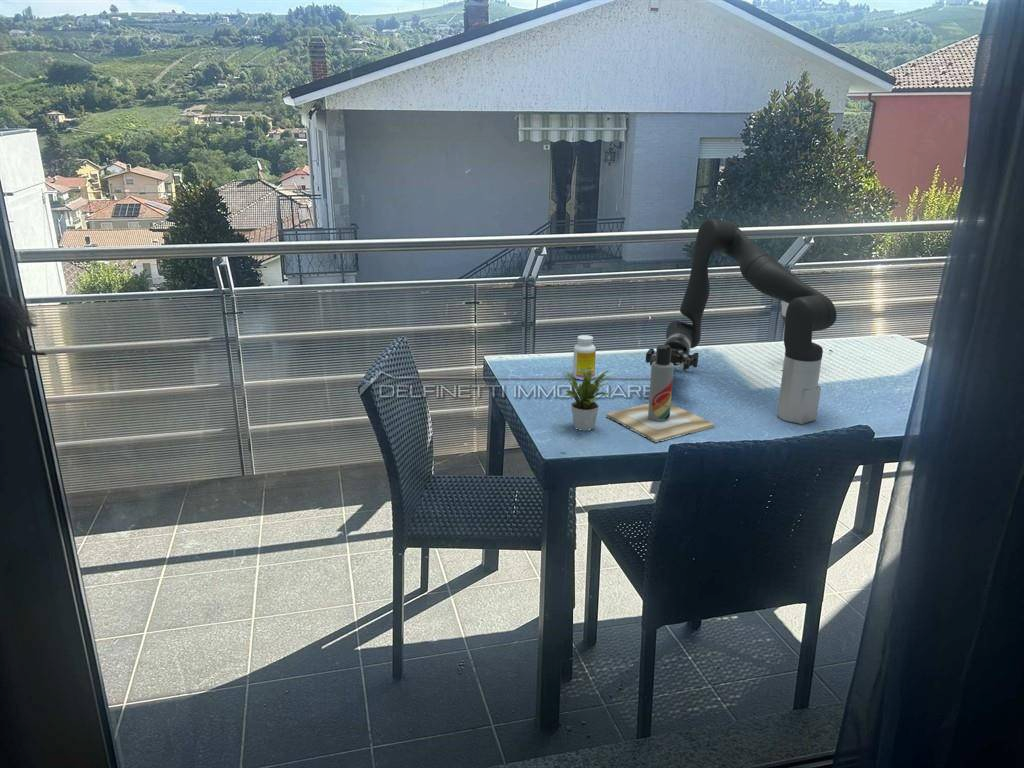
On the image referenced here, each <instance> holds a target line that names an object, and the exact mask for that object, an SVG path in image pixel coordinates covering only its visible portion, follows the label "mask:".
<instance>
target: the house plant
mask: <svg viewBox="0 0 1024 768" xmlns="http://www.w3.org/2000/svg"><path fill="white" fill-rule="evenodd" d="M582 371H583V369H582ZM564 372H565V373H566V375H567V376H568V377H569V378H566V379H565V380H566V381H567V382H568V383H569V384H570V385H571V390H569V389H567V390H566V391H565V392H567V393H566V394H565V395H564V397H572V398H573V399H574V400H575V401H573V402H572V403H571V412H572V420H573V421H572V422H573V427H575V428H577V429H581V430H589V429H593V428H594V429H595V425H596V421H597V417H598V411H599V406H600V405H599V403H598V402H597V401H598V400H599V399H600V398H602V397H603V396H605V395H607V396H609V394H611V395H612V394H613V393H612V392H603V391H601V392H599V390H600V388H601V387H602V386H606V385H607V383H602V382H604V381H606V380H608V379H616V378H617V377H613V376H608V377H606V376H607V373H608V372H609V370H606V371H605V372H601V374H600V375H599V376H597V377H594V378H593V379H591V376H592V374H591V369H590V366H589V369H588V368H587V369H586V371H585V373H584V371H583V376H584V379H583V380H582V382H581V384H579V385H578V383H577V381H576V380H575V379H576V378H574V376H573V374H570V373H569V372H568V371H567V370H564ZM569 379H570V380H569ZM593 380H594V381H593ZM592 381H593V383H592ZM609 385H611V384H610V383H609ZM600 395H601V396H600ZM597 396H599V397H598V398H597V399H596V397H597ZM575 428H574V429H575ZM577 429H576V430H577ZM594 429H593V430H594Z"/></svg>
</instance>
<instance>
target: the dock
mask: <svg viewBox="0 0 1024 768" xmlns="http://www.w3.org/2000/svg"><path fill="white" fill-rule="evenodd" d="M648 408H649V402H648V403H646V404H645V403H644V404H640V405H636V406H632V407H629V408H623V409H620V410H615V411H611V412H608V413H606V414H605V417H606V416H607V417H609V418H611V419H613V420H615V421H617V422H619V423H621V424H623V425H626V426H627V427H629V428H631V429H633V430H635V431H636V432H638V433H640V434H642V435H644V436H646V437H647V438H649V439H651V440H653V441H655V442H657V441H661V440H665V439H668V438H672V437H675V436H678V435H683V434H688V433H692V434H695V433H699V432H702V431H706V430H709V429H713V428H715V423H714V422H711V421H709V420H707V419H705V418H703V417H701V416H699V415H696V414H694V413H693V412H690V411H688V410H685V409H683V408H681V407H678V406H676V405H674V404H672V403H671V408H670V418H669V420H667V421H663V422H658V421H653V420H651V419H649V418H648ZM607 417H606V418H607ZM609 418H608V419H609ZM611 419H610V420H611ZM613 420H612V421H613ZM694 432H695V433H694ZM688 435H689V434H688ZM647 438H646V439H647Z"/></svg>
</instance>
